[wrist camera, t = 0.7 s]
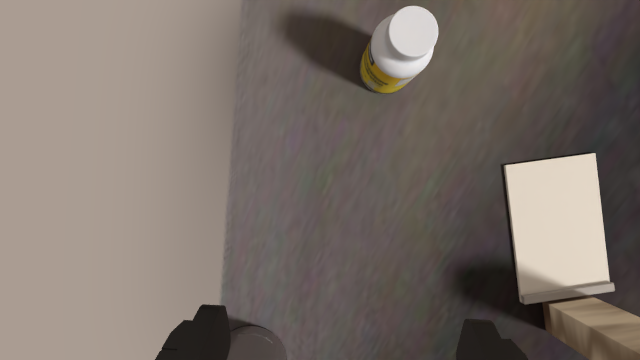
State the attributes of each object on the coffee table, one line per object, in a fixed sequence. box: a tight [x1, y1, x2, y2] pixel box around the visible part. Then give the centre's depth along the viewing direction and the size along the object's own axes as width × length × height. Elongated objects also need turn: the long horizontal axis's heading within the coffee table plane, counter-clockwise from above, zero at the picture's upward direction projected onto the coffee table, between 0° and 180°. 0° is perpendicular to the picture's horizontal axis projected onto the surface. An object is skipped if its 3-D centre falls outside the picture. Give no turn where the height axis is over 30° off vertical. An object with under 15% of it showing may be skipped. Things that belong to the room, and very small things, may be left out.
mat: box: [504, 153, 615, 304], centre depth 42 cm, size 18×12×1 cm, turn 8°
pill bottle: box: [360, 6, 438, 94], centre depth 36 cm, size 6×6×12 cm
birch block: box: [542, 295, 640, 360], centre depth 36 cm, size 4×6×14 cm, turn 98°
